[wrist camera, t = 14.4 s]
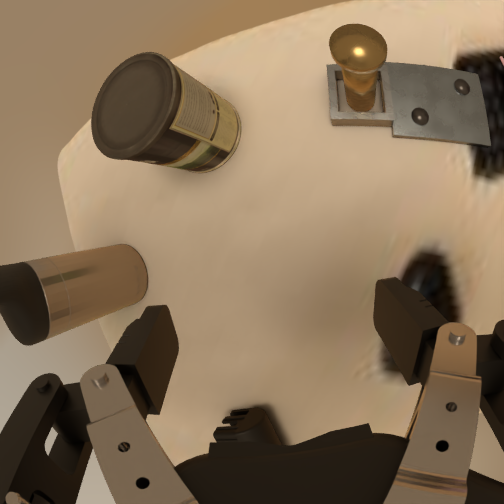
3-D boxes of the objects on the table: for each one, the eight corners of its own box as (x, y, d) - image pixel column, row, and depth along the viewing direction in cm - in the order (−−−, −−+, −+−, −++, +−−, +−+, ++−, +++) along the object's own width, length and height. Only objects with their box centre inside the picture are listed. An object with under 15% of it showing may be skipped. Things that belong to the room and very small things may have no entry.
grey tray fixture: (333, 136, 29) (331, 130, 27) (328, 65, 28) (325, 55, 26) (487, 147, 23) (496, 143, 21) (475, 77, 22) (481, 69, 19)
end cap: (295, 450, 36) (283, 481, 30) (254, 453, 39) (238, 481, 33) (272, 401, 36) (255, 432, 30) (229, 407, 39) (208, 434, 33)
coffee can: (210, 189, 35) (130, 181, 22) (158, 148, 37) (78, 130, 24) (259, 119, 32) (198, 71, 19) (199, 84, 34) (129, 41, 21)
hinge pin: (342, 116, 29) (331, 68, 17) (339, 82, 28) (326, 24, 17) (381, 117, 27) (391, 69, 16) (377, 82, 26) (381, 24, 15)
